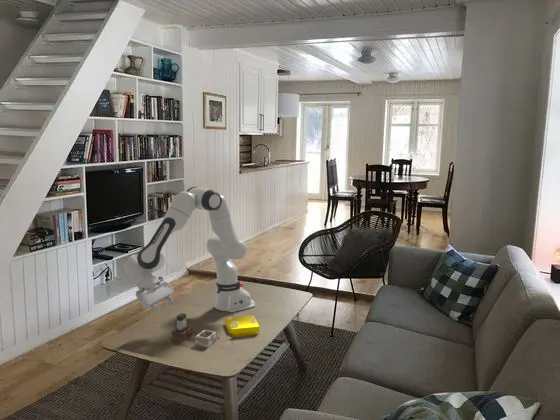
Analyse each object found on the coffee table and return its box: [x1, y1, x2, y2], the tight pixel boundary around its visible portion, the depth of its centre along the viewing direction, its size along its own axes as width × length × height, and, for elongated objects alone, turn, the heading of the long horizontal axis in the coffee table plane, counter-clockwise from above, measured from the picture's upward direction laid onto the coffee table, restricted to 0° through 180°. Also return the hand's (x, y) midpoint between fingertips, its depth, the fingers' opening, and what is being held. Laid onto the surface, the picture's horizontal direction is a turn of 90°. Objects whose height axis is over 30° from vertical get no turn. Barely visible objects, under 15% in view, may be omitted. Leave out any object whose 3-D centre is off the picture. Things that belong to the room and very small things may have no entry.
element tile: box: [224, 314, 260, 338], centre depth 230 cm, size 15×15×5 cm
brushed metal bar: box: [176, 312, 187, 332], centre depth 216 cm, size 4×2×11 cm, turn 158°
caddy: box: [166, 325, 221, 351], centre depth 214 cm, size 14×20×6 cm
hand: (166, 308), depth 218 cm, fingers open, 8 cm apart
